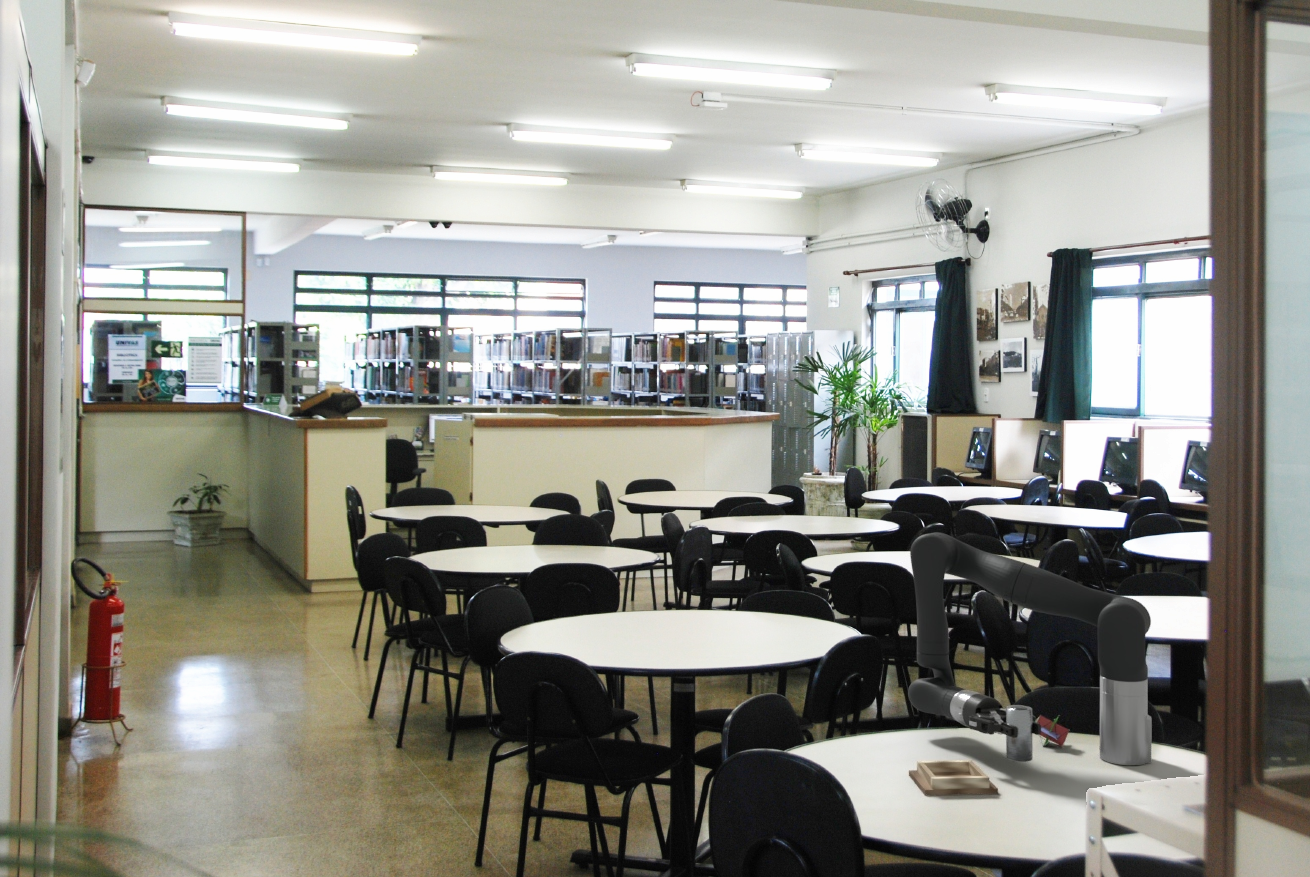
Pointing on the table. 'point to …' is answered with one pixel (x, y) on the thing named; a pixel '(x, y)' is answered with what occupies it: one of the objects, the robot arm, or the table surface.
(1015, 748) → the steel tube
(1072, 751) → the table surface
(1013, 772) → the table surface
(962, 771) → the wooden tray
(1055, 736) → the geometric puzzle
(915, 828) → the table surface
